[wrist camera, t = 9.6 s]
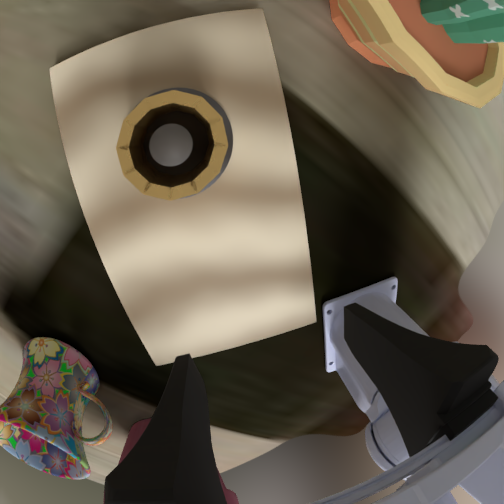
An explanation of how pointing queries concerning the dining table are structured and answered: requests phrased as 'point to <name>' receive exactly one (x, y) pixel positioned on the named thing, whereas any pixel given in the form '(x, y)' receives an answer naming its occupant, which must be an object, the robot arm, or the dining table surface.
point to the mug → (52, 409)
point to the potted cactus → (431, 42)
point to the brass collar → (135, 156)
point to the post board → (197, 205)
